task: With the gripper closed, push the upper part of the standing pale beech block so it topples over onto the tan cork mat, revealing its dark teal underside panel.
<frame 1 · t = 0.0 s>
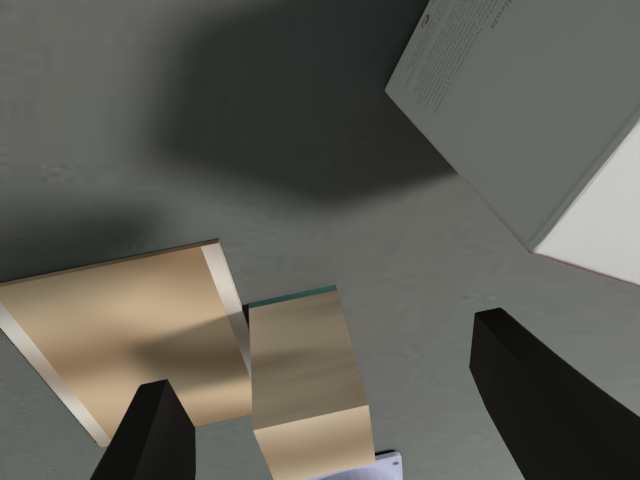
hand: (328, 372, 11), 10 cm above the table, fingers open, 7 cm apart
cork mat: (151, 356, 24), on the table
small box: (500, 58, 17), on the table
beech block: (299, 324, 24), on the table
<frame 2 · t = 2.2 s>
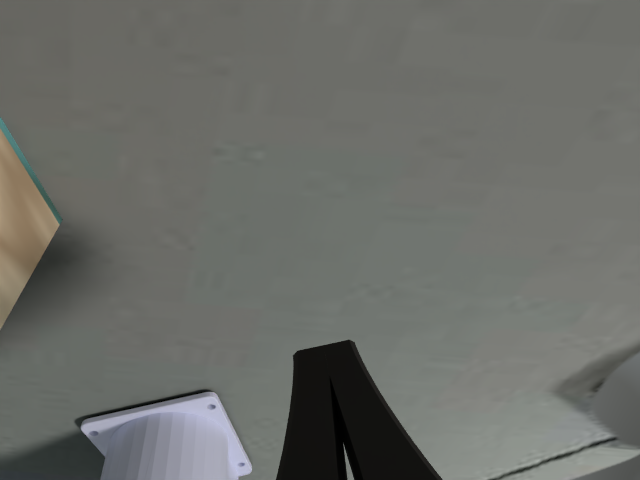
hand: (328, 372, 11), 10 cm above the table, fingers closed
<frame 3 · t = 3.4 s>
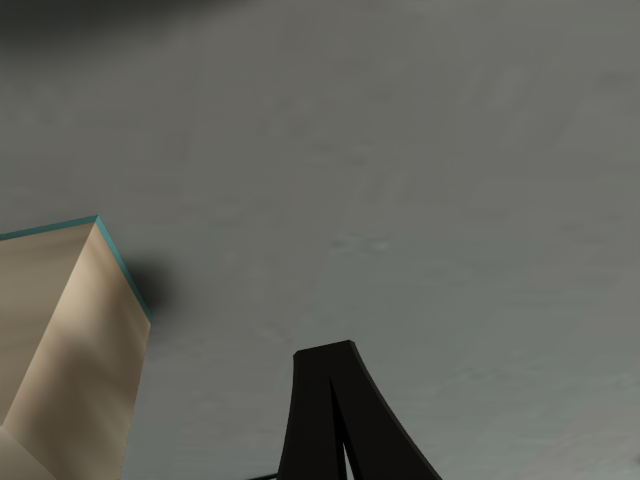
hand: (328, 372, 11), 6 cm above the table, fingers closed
beech block: (60, 284, 15), on the table
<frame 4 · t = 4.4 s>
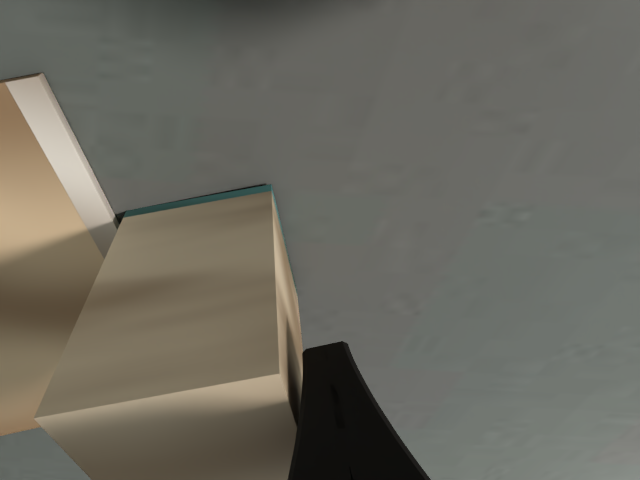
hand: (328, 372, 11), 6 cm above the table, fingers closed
beech block: (219, 254, 15), on the table, touching gripper
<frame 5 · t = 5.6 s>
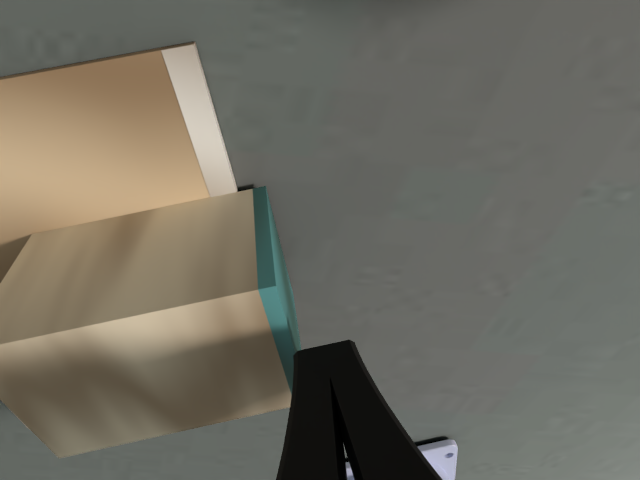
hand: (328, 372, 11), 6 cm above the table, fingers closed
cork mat: (92, 278, 15), on the table
beech block: (286, 290, 13), point 3 cm above the table, tilted 90°, touching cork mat
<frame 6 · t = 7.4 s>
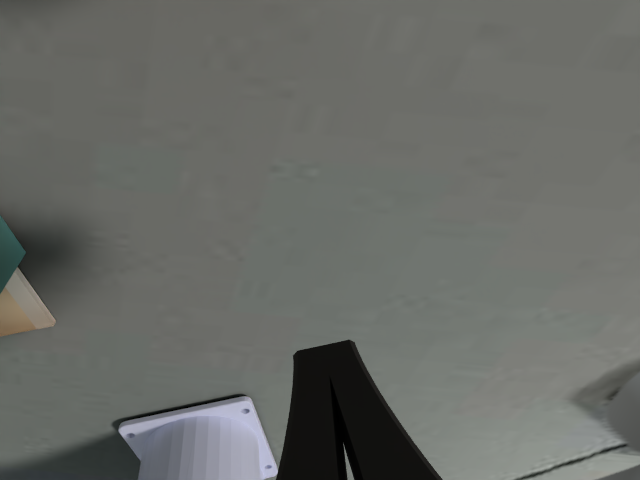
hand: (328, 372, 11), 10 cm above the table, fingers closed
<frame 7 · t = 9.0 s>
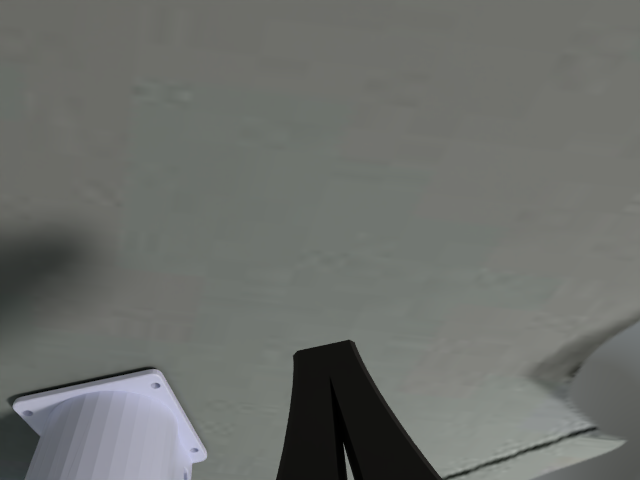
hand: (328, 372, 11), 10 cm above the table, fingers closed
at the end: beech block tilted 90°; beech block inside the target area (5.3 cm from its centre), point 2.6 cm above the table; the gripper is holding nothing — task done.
